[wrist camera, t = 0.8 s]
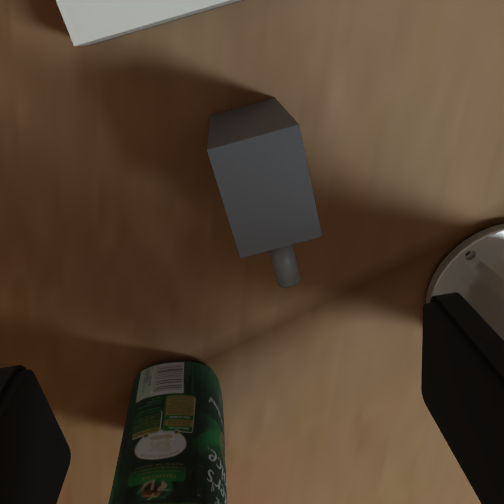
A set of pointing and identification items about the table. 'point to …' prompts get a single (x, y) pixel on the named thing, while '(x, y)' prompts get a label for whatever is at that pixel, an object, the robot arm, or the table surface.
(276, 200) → the plug
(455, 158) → the table surface
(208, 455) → the coffee jar
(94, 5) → the socket
